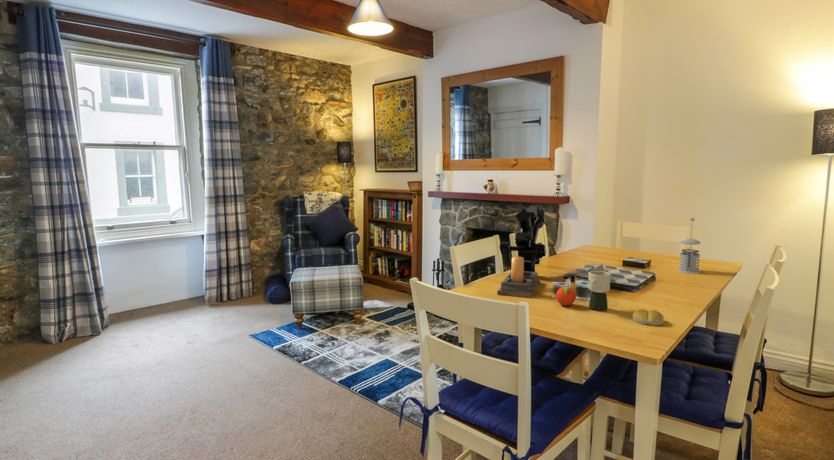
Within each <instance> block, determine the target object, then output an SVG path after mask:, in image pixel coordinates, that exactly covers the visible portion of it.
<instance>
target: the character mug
mask: <svg viewBox="0 0 834 460" xmlns="http://www.w3.org/2000/svg"><path fill="white" fill-rule="evenodd" d="M587 279H588V285H587V288H588V290H589V291H591V293H590V297H589V302H588V303H589V304H588V308H590V309H595V310H596V311H598V310H607V309H608V308H609V306H608V305H609V304H608V297H607V293H609V292H610V290H611V273H610V272H608V271H605V270H604V271H590V272H589V274H588V277H587Z"/></svg>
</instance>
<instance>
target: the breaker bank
mask: <svg viewBox="0 0 834 460" xmlns="http://www.w3.org/2000/svg"><path fill="white" fill-rule="evenodd" d="M540 283H541V278H538V272H537V271H535V272H528V271H524V274H523V284H520V283H511V272H510V273H509V274H508V275H507V276H506V277H505V278H504V279H501V282H500V286H499V287H500V288H499V289H498V290H497V293H496V294H497V296H498V295H499V296H507V297H520V298H530V299H531V298H532V296H533V295H534V293H535V291H536V289H538V286H539V285H540Z"/></svg>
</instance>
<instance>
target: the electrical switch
mask: <svg viewBox="0 0 834 460" xmlns="http://www.w3.org/2000/svg"><path fill="white" fill-rule="evenodd" d="M590 271H605V267H604V265H603V264H602V263H601V264H598V265H596V266H593V267H592V268H590V269H588V270H587V273H588V275H589V272H590Z"/></svg>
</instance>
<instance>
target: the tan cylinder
mask: <svg viewBox="0 0 834 460" xmlns="http://www.w3.org/2000/svg"><path fill="white" fill-rule="evenodd" d="M510 265H511V267H510V268H511V271H510V273H511V283H520V284H523V274H524V258H523V257H518V256H512V257H511V262H510Z"/></svg>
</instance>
